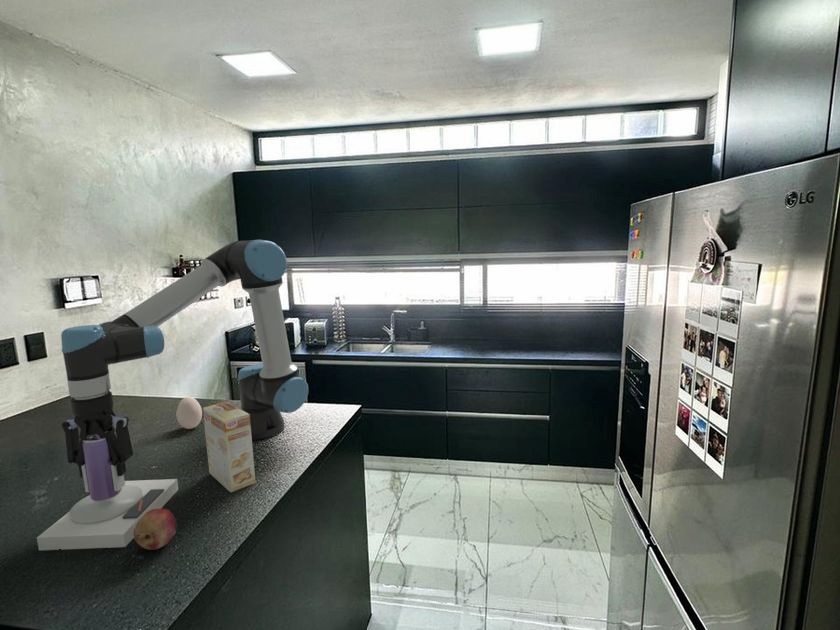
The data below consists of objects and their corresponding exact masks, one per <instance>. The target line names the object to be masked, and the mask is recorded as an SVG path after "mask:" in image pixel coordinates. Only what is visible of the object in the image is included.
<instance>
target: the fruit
mask: <svg viewBox="0 0 840 630" xmlns="http://www.w3.org/2000/svg"><path fill="white" fill-rule="evenodd" d="M171 511H172V510H169V509H168V508H167V509H166V508H161V509H153V510H150V511H148V512H147V513H145V514H144V515H143V517H142V518H141V519H140V520H139V521H138V522H137V524H136V526H135V529H134V538H133V539H134V540H135V542H136V543H137V544H138V545H139V546H140V547H141V548H142V549H146V550H149V551H153V550H158V549H161V548H163V547H164V546H166V545H168V543H170V541H171V540H172V539H173V537H174V536H175V534H176V532H177V528H178V522H177V519H176V517H175V516H174V515H173V513H172V512H171Z"/></svg>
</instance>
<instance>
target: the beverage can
mask: <svg viewBox="0 0 840 630" xmlns="http://www.w3.org/2000/svg"><path fill="white" fill-rule="evenodd" d="M106 432H107V431H106ZM106 432H105V433H106ZM82 446H83V452H84V458H85V465H86V471H87V478H88V484H89V491H90V492H89V495H90V497H91V499H92V500H93V501H95V502H104V501H108V500H111V499H113V498H115V497H116V496H118V495H119V494H120V492H121V490H122V488H121V489H120V490H119V491H114V484H113V478H112V471H111V465H112V464H113V463H114V462H113V460H112V457H111V455H110V453H109V451H108V444H107V441H106V438H103V439H101V438H100V437H99V435H97V434H93V435H92V436H91V437H90V438H87V439H86V440H84V439H83V443H82Z"/></svg>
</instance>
